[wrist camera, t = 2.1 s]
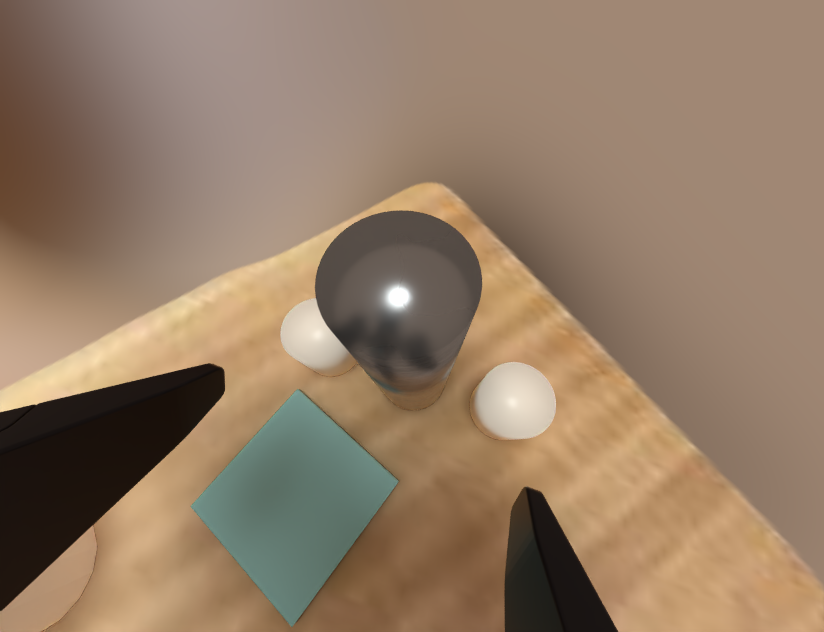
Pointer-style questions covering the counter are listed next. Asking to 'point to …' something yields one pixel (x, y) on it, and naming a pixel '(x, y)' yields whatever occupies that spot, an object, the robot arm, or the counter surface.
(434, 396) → the dark metallic domed cylinder
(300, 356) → the cylinder
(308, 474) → the teal pad
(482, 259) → the counter surface
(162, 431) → the robot arm
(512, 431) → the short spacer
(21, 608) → the white cylinder
